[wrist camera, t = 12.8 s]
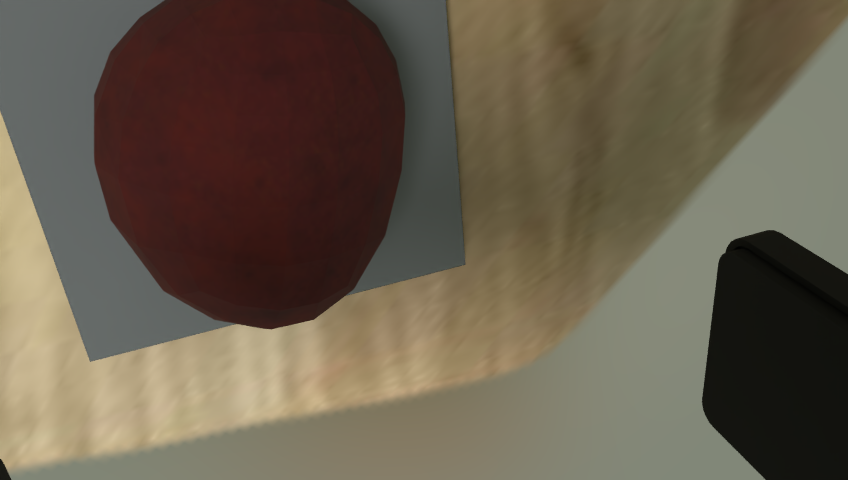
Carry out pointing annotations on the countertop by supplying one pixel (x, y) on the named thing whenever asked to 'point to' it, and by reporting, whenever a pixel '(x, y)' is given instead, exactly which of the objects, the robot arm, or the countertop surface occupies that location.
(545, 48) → the countertop surface
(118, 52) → the potato
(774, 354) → the robot arm
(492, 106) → the countertop surface
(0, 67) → the mat
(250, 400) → the countertop surface
